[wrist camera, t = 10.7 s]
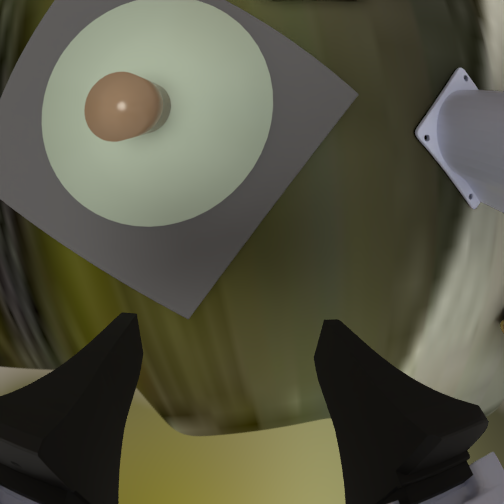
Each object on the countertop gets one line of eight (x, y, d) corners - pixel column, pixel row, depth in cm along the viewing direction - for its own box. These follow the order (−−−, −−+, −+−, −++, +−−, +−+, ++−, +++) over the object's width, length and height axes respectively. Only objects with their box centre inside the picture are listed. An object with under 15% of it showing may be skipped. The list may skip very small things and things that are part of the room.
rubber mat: (355, 94, 17) (358, 94, 17) (189, 314, 23) (188, 319, 23) (98, -46, 11) (95, -49, 10) (-21, 176, 17) (-26, 178, 16)
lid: (311, 49, 15) (344, 27, 10) (213, 254, 21) (210, 302, 16) (99, -16, 11) (64, -47, 6) (26, 183, 17) (-21, 207, 12)
